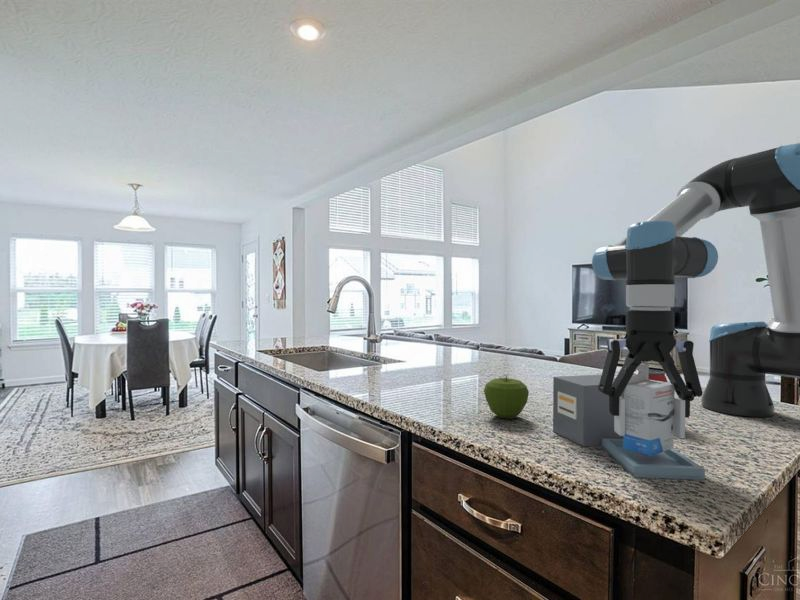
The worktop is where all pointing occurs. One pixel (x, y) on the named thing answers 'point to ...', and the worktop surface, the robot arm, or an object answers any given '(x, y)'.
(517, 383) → the apple
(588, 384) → the box
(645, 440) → the ink box
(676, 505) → the worktop surface
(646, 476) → the tray
